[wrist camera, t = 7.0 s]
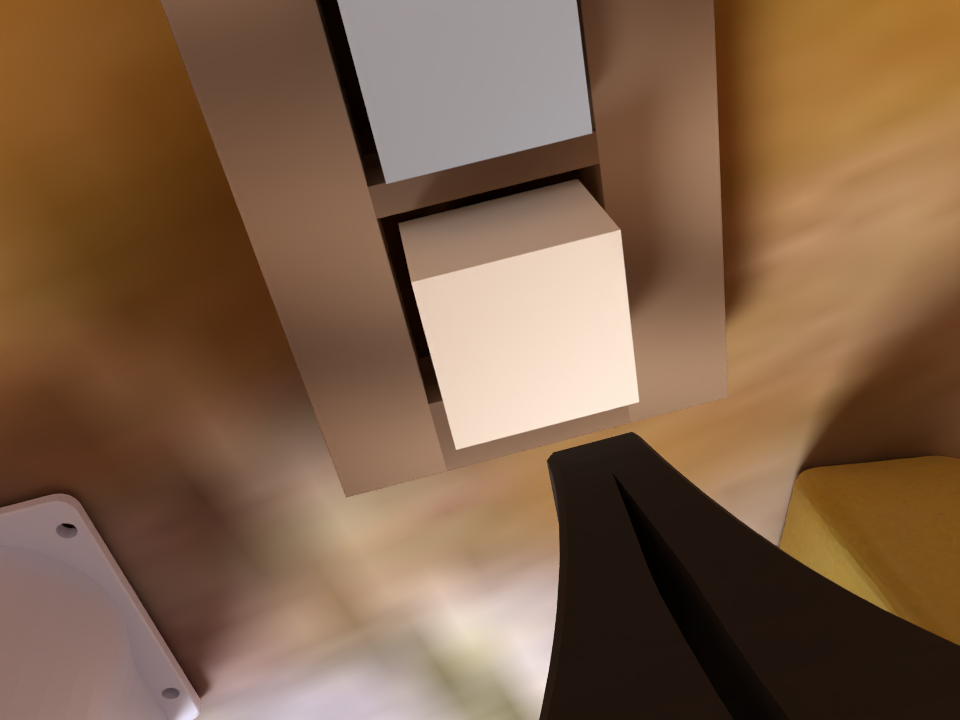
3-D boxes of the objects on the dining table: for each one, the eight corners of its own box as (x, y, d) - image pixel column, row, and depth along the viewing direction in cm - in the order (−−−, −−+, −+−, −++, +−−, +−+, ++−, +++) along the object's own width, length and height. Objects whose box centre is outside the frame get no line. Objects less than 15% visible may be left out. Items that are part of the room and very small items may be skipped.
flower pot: (750, 418, 24) (947, 667, 17) (1012, 394, 26) (1305, 615, 18) (706, 624, 29) (844, 894, 21) (930, 594, 30) (1138, 839, 22)
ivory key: (598, 334, 20) (639, 402, 17) (438, 375, 20) (456, 450, 17) (577, 178, 18) (620, 229, 15) (398, 223, 18) (411, 282, 15)
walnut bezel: (694, 354, 23) (728, 397, 21) (344, 445, 22) (346, 497, 20) (626, -766, 12) (681, -881, 10) (-44, -632, 12) (-112, -727, 10)
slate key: (553, 96, 18) (592, 133, 15) (377, 139, 18) (386, 184, 15) (524, -109, 16) (563, -106, 13) (323, -63, 16) (323, -51, 13)
